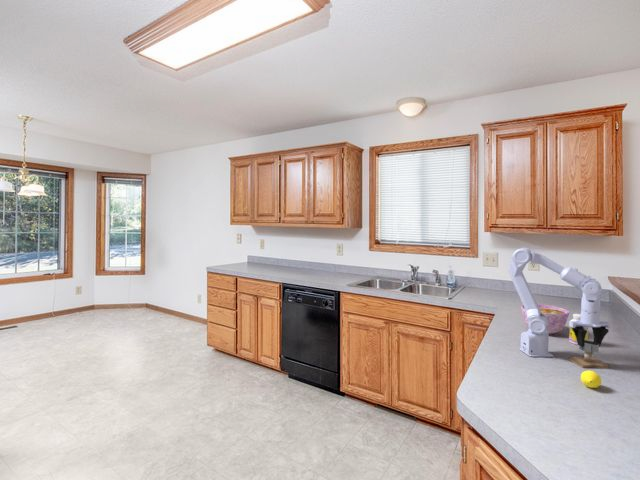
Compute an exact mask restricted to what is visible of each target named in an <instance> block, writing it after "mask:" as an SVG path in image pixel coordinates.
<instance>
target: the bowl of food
mask: <svg viewBox="0 0 640 480" xmlns="http://www.w3.org/2000/svg"><path fill="white" fill-rule="evenodd" d="M537 305H538V307H539V308H540V310H541V311H542V313H543V315H544V316H546V317H547V319H548V321H549V324H548V326H547V331H548V332H549V335H553V334H557V333H559V332H561V331H562V330H563V329H564V328H565V327H566V324H567V321H568V319H569V315H570V311H569V310H568V309H565V308H563V307H559V306H555V305H548V304H542V303H541V304H539V303H537ZM520 308H521V309H520V310H521V312H522V317H523V321H524V324H525V325H526V326H527V328H529V320H528V318H527V313H526V310H525V308H524V305H523V304H522V305H521V306H520Z"/></svg>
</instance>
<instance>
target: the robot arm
mask: <svg viewBox="0 0 640 480" xmlns="http://www.w3.org/2000/svg"><path fill="white" fill-rule="evenodd" d="M509 262H510V263H509V266H508V274H509V275H510V279H511V281H512V283H513V285H514V288H515V290H516V292H517V294H518V296H519V298H520V301H521V303H522V305H524V308H525V310H526V313H527V318H528V320H529V327H528V329H527V330H526V331H523V332H521V334H520V345H519V346H520V348H518V350H519V351H521V352H522V353H524V354H526V355H527V356H529V357H537V358H538V357H541V358H542V357H545V358H548V357H552V358H553V357H554V355H553V354H552V353H549V337H550V334H549V332H548V331H547V326H548V324H549V321H548V319H547V317H546V316H544V315H543V313H542V311H541V310H540V308H539V307H538V305H537V304H538V303H537V301H536V299H535V297H534V294H533V292H532V290H531V288H530V286H529V283H528V281H527V278H526V277H525V275H524V273H523V271H524V270H525V267H526V265H527V264H528V263H530V264H533V265H534V264H536V265H542V266H543V267H545V268H547V269H549V270H551V271H552V272H555V273H556V274H558V275H559V277H560V279H561V280H563V281H564V282H566V283H567V284H569V285H571V286H573V287H575V288H577V289H581V291H582V297H581V301H580V302H581V304H580V306H581V307H580V314H581V320H579V321H571V320H570V321H568V327H569V328H570V327H571V328H572V330H573V332H574V334H575V336H576V339H577V343H578V345H577V346H581V347H584V342H585V336H586V333H587V330H584V328H583V327H588V328H591V329H592V333H593V341H594V342H597V343H599V348H600V347H601V345H602V342H603V340H604V338H605V337H606V335H608V333H609V331H610V330H609V329H611V328H612V327H611V326H612V323H611V322H609V321H604V320H603V321H602V320H600V319H601V318H600V317H601V294H602V291H603V289H602V286H601V283H600V282H599V281H598V280H596V278H592V277H591V276H590V275H587V274H584V273H582V272H580V271H579V269H578V268H576V267H574V268H573V267H571V266H569V267H564V266H562V265H560V264H559V263H557V262H555V261H554V260H552V259H550V258H549V257H548V256H546V255H543V254H542V253H540V252H537V251H535V250H531V249H530V248H528V247H520V248H518V249H516V250H515V251H514V252H513V254H512V255H511V256H510V261H509Z"/></svg>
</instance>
